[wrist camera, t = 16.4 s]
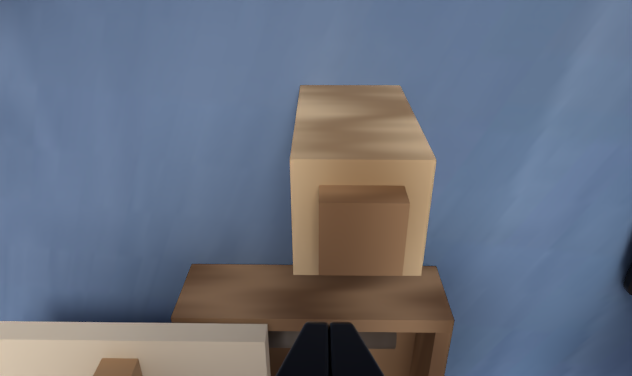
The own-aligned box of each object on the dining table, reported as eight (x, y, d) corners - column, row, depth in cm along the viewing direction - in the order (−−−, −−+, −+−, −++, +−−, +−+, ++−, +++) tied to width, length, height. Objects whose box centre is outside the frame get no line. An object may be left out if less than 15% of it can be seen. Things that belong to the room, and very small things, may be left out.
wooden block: (399, 85, 19) (444, 176, 12) (392, 174, 21) (427, 297, 14) (300, 85, 19) (287, 175, 12) (301, 173, 21) (291, 296, 14)
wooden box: (436, 266, 23) (454, 320, 20) (415, 401, 28) (427, 463, 25) (191, 263, 24) (170, 317, 20) (212, 399, 28) (198, 460, 25)
